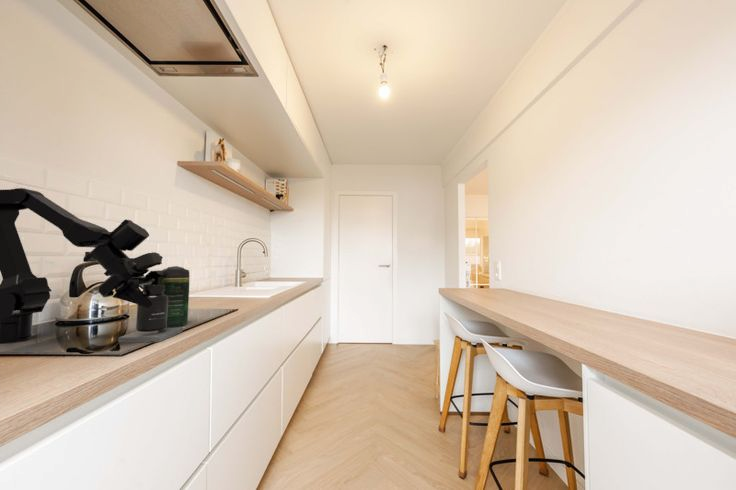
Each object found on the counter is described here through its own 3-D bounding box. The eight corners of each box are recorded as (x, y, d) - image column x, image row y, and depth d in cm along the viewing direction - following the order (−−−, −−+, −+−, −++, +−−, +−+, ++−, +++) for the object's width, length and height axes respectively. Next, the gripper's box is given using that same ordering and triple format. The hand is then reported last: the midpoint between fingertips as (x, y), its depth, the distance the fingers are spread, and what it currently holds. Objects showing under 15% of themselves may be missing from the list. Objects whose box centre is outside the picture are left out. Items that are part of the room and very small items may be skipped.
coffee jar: (189, 325, 91) (191, 266, 91) (158, 329, 86) (160, 266, 87) (186, 320, 98) (188, 265, 99) (157, 323, 94) (160, 265, 94)
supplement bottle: (157, 332, 75) (159, 286, 75) (129, 332, 75) (131, 285, 75) (172, 325, 82) (174, 283, 82) (147, 325, 81) (149, 283, 82)
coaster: (146, 332, 83) (146, 327, 83) (182, 331, 83) (182, 327, 83) (118, 342, 73) (118, 337, 73) (159, 342, 73) (159, 337, 73)
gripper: (114, 240, 69) (161, 286, 70) (161, 243, 88) (197, 280, 89) (76, 272, 68) (124, 319, 69) (131, 269, 87) (169, 306, 88)
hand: (158, 304), depth 79 cm, fingers closed on supplement bottle, 7 cm apart
